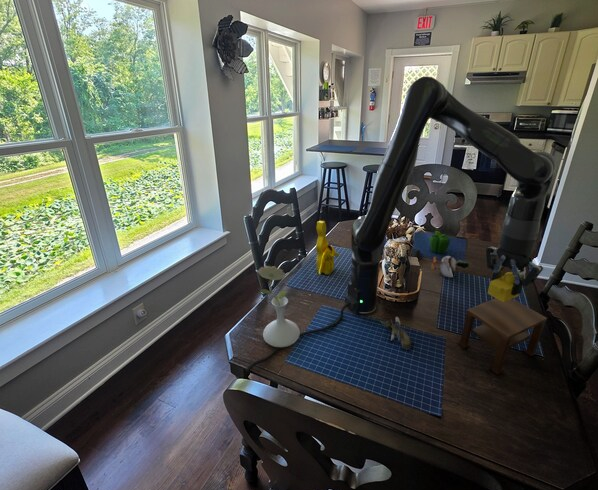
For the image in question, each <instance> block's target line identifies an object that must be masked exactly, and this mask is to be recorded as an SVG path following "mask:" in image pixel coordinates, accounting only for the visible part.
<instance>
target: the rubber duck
mask: <svg viewBox="0 0 598 490" xmlns="http://www.w3.org/2000/svg"><path fill="white" fill-rule="evenodd" d="M513 283H515V279H514V276H513V273H512V271H507V272H505V273H504V275H502V277H500V278H498V279H495V280H493V281H492V280H490V281H489V285H488V291H487V294H488V295H489V296H491V297H493V298H494V299H495V298H496V299H498V300H500V301H502V302H506V301H508V300H510V299H514V298H516V297H517V298H518V297H519V296H520V293H519V294H517V295H515V296H513V295H511V291H512V287H513Z"/></svg>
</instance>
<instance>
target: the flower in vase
mask: <svg viewBox="0 0 598 490" xmlns="http://www.w3.org/2000/svg"><path fill="white" fill-rule="evenodd" d="M257 274H259V276H261V277H262V278H264V279H266V280H269V290H268V289H265V288H263V289H260V290H259V293H263V294H266V295H272V296H273V298H272V299H271V300H270V301H271V302H270V303H271V304H272V306H273V307H274V309H275V312H276V319H274V320H273V321H271V322H269V323H268V324H267V325H266V326H265V327H264V330H263V333H262V337H263V340H264V341H265V342H266V343H267V344H268V345H269V346H271V347H274V348H277V347H280V349H281V348H286V347H290V346H292V345H294V344H295V343H296V342H297V341H298V339H299V338H300V337H299V335H300V334H301V330H300V328H299V326H298V324H296V323H295V322H294V321H292V320H291V319H286V318H285V309H286V306H287V304H288V303H289V299H288V298H287V297H286V295H287V294H288V293H289V292H288V290H281V291H279V292H278V294H277V295H276V294H275V293H274V292H273V290H272V281H280V280H283V279H284V278H285V276H286V274H285V272H284V269H281V268H277V267H276V266H275V265H273V266H271V265H264V266H261V267H260V268H258V271H257Z"/></svg>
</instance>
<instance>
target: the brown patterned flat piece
mask: <svg viewBox="0 0 598 490" xmlns="http://www.w3.org/2000/svg"><path fill="white" fill-rule="evenodd" d="M386 241H387V240H386V239H384V241H383V243H382V245H381V246H380V247H379V255H380V259H382V255H383V248H384V245H385V243H386ZM412 248H413V250H412V257H417V258H418V260H419V259H420V258H421V255H422V253H421V251H420V249H417V248H414V247H412Z"/></svg>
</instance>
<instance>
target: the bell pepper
mask: <svg viewBox="0 0 598 490" xmlns="http://www.w3.org/2000/svg"><path fill="white" fill-rule="evenodd" d="M450 242H451V239H450V237H448V235H447V234H446V233H444V234H443V233H441V232H440V231H437V230H435V231H434V234H431V235H430V237H429V247H430V251H431V252H432V253H438V254H445V253H446V252H447V250H448V248H449V246H450Z"/></svg>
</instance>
